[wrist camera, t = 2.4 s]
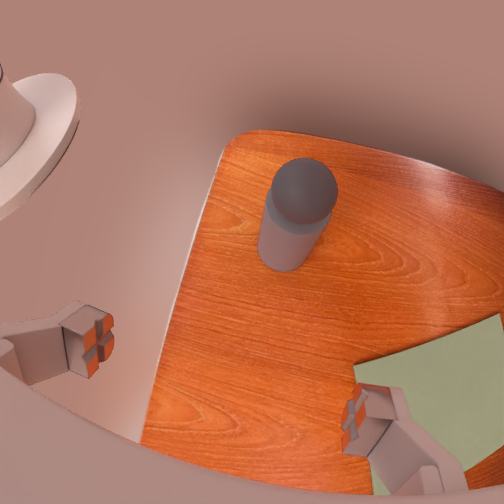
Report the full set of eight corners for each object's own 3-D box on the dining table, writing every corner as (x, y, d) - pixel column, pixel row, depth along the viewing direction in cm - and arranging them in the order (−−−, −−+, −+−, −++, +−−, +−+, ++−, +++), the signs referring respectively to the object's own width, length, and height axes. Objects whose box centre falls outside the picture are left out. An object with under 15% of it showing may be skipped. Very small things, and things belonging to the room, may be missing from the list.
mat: (375, 513, 21) (377, 515, 20) (352, 365, 26) (354, 365, 26) (513, 435, 23) (516, 435, 22) (496, 314, 29) (499, 313, 28)
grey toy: (262, 275, 29) (281, 210, 18) (253, 227, 30) (264, 144, 19) (313, 267, 29) (359, 202, 18) (301, 221, 31) (335, 140, 20)
